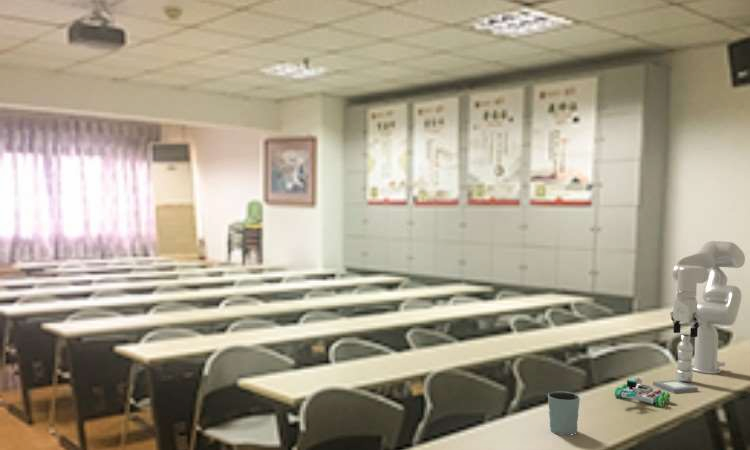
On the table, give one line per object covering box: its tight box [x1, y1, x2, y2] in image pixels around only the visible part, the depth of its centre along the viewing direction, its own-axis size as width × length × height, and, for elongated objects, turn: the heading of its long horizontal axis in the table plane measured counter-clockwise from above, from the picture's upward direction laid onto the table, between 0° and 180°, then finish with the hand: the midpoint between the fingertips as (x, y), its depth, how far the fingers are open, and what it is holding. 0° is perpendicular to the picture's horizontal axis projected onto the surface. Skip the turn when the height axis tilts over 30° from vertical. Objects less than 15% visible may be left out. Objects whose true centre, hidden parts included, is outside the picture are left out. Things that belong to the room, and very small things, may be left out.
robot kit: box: [614, 377, 671, 408], centre depth 251 cm, size 19×25×9 cm
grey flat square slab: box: [652, 379, 699, 394], centre depth 272 cm, size 12×12×2 cm
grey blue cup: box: [547, 390, 581, 436], centre depth 217 cm, size 10×10×12 cm
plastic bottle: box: [675, 334, 694, 383], centre depth 283 cm, size 6×7×20 cm
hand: (685, 334), depth 283 cm, fingers open, 9 cm apart
